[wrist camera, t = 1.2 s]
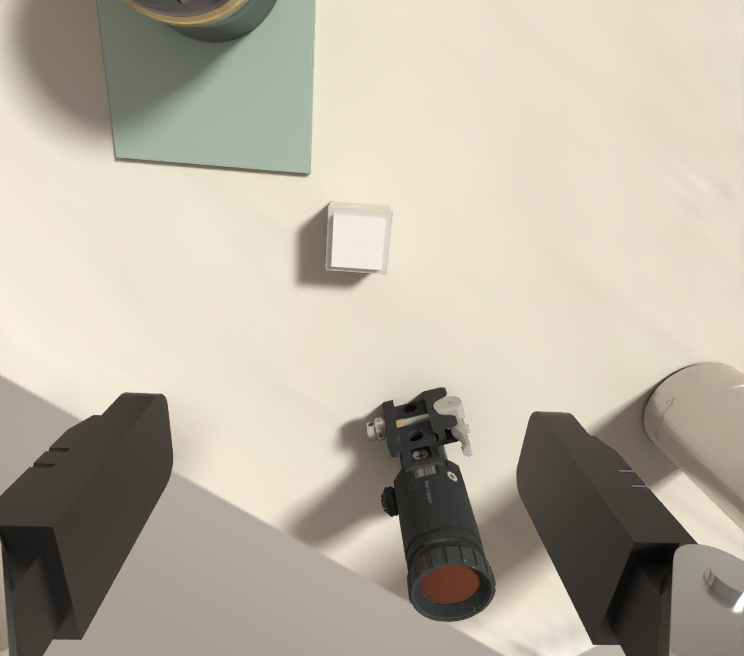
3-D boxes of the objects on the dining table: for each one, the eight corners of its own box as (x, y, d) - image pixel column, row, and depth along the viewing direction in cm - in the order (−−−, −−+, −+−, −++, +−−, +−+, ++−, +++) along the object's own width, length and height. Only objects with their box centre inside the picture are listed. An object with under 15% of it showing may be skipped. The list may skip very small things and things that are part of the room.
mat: (320, -174, 24) (319, -179, 24) (310, 173, 31) (309, 173, 30) (74, -206, 23) (69, -212, 23) (119, 157, 30) (116, 157, 29)
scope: (505, 504, 24) (528, 620, 28) (454, 383, 37) (474, 473, 41) (364, 536, 25) (404, 646, 29) (361, 406, 38) (389, 493, 42)
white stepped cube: (389, 205, 32) (393, 213, 28) (383, 262, 33) (387, 276, 30) (331, 201, 32) (327, 207, 28) (328, 258, 33) (325, 271, 29)
